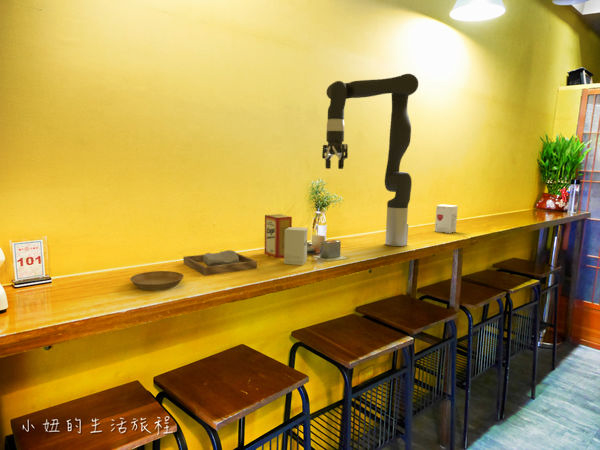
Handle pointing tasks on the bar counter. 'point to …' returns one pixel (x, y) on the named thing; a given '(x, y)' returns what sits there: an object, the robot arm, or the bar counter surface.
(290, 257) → the supplement box
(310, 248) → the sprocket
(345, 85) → the robot arm
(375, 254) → the bar counter surface
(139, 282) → the plant saucer
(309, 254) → the sprocket base
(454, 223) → the supplement box
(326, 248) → the grey rectangular block
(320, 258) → the seat tile
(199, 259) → the wooden tray
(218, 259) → the stone block
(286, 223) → the baking soda box
